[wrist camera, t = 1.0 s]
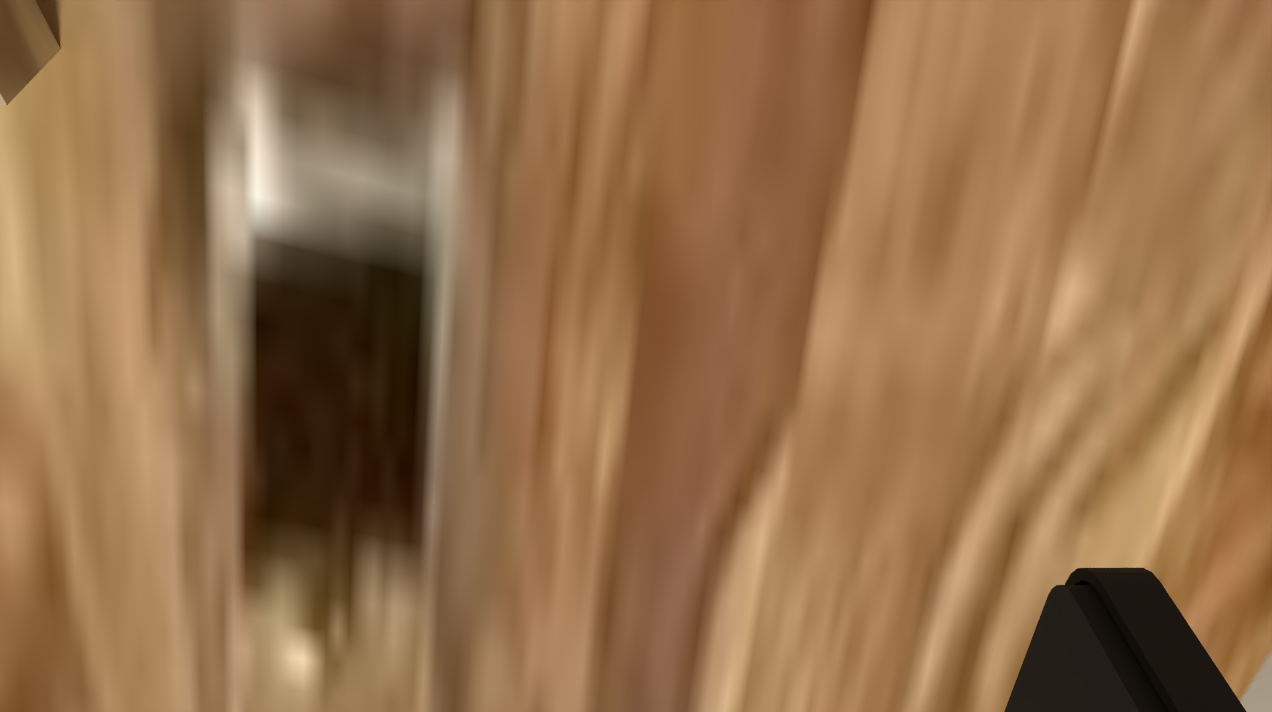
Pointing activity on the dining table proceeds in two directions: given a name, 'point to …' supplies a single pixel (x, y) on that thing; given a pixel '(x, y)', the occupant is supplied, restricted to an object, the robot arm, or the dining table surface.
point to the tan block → (22, 45)
